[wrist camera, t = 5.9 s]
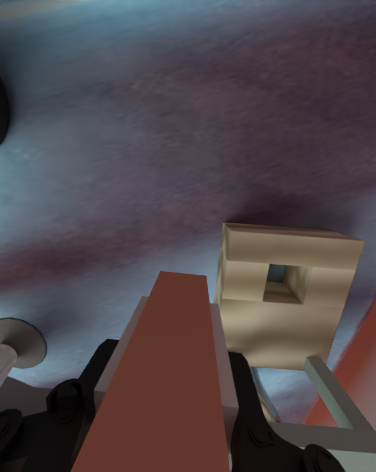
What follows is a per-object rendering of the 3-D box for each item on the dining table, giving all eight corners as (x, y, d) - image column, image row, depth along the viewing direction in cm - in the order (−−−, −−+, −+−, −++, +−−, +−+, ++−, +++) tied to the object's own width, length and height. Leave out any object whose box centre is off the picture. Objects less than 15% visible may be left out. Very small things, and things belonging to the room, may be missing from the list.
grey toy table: (219, 322, 26) (241, 442, 14) (335, 332, 25) (463, 461, 13) (213, 363, 27) (229, 500, 15) (323, 372, 27) (425, 517, 15)
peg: (160, 271, 16) (-28, 691, 3) (206, 275, 16) (262, 735, 2) (157, 311, 17) (9, 775, 4) (201, 315, 17) (221, 808, 3)
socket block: (223, 222, 28) (231, 231, 22) (329, 230, 28) (365, 241, 22) (210, 332, 33) (213, 363, 27) (300, 339, 33) (323, 372, 27)
